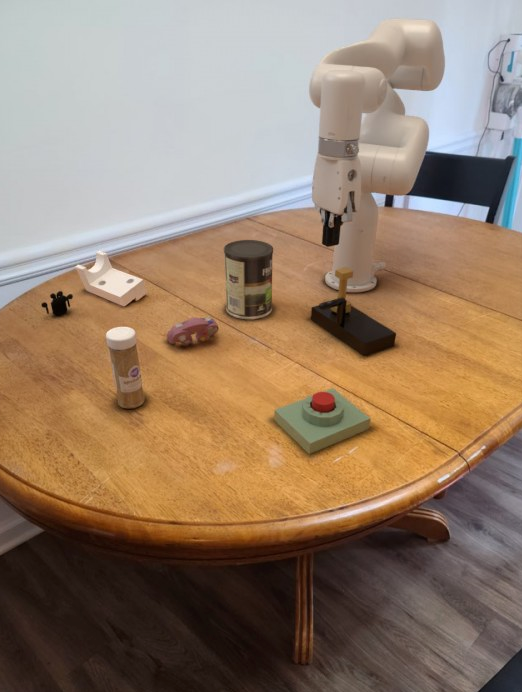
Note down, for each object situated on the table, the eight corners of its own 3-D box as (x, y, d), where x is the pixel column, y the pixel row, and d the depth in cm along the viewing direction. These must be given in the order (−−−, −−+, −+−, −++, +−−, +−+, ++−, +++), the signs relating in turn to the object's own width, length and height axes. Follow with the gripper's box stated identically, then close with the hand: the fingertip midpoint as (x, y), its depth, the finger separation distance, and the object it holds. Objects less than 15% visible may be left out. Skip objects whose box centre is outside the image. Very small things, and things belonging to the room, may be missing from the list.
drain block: (332, 398, 99) (333, 379, 96) (369, 429, 92) (372, 409, 90) (274, 420, 93) (274, 400, 91) (309, 454, 86) (310, 434, 84)
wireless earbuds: (73, 307, 124) (69, 286, 121) (79, 311, 122) (75, 290, 120) (43, 317, 120) (38, 295, 117) (49, 321, 118) (44, 299, 115)
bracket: (88, 293, 132) (75, 266, 126) (110, 277, 135) (98, 250, 130) (125, 309, 126) (113, 282, 120) (147, 292, 129) (137, 264, 124)
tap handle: (341, 306, 121) (345, 266, 115) (350, 311, 119) (354, 271, 113) (330, 309, 119) (333, 269, 114) (339, 315, 117) (343, 274, 112)
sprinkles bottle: (135, 412, 94) (124, 342, 86) (112, 405, 95) (99, 335, 87) (150, 397, 97) (141, 328, 89) (127, 391, 98) (116, 323, 91)
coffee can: (276, 301, 129) (277, 241, 121) (266, 322, 121) (267, 259, 112) (233, 296, 130) (231, 237, 122) (220, 316, 122) (217, 254, 114)
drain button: (325, 397, 92) (325, 389, 91) (338, 409, 90) (339, 400, 89) (307, 404, 91) (307, 395, 90) (320, 416, 88) (321, 407, 87)
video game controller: (171, 355, 111) (174, 335, 106) (164, 337, 113) (166, 316, 107) (218, 345, 115) (223, 324, 109) (210, 327, 117) (214, 306, 111)
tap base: (339, 311, 126) (343, 274, 121) (394, 346, 114) (400, 307, 109) (291, 325, 120) (293, 287, 115) (344, 363, 108) (348, 323, 103)
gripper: (380, 153, 101) (368, 253, 111) (329, 138, 111) (323, 231, 121) (347, 157, 97) (338, 260, 108) (298, 141, 107) (294, 236, 118)
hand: (330, 244), depth 115 cm, fingers closed
